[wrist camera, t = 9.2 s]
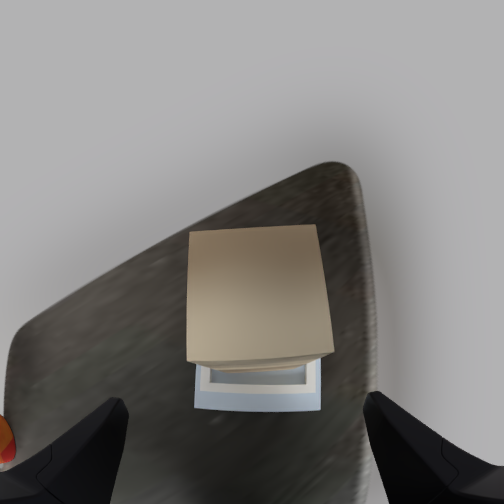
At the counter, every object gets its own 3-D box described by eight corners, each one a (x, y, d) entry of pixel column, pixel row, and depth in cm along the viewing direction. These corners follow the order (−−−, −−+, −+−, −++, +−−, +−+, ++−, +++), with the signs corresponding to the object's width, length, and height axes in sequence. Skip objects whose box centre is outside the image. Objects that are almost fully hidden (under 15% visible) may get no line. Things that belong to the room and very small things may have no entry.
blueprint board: (318, 409, 17) (323, 411, 16) (196, 407, 17) (191, 408, 16) (315, 276, 22) (318, 268, 20) (205, 275, 22) (201, 266, 20)
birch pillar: (293, 369, 18) (334, 351, 8) (227, 373, 18) (186, 360, 8) (287, 307, 20) (315, 224, 10) (225, 310, 20) (189, 231, 10)
